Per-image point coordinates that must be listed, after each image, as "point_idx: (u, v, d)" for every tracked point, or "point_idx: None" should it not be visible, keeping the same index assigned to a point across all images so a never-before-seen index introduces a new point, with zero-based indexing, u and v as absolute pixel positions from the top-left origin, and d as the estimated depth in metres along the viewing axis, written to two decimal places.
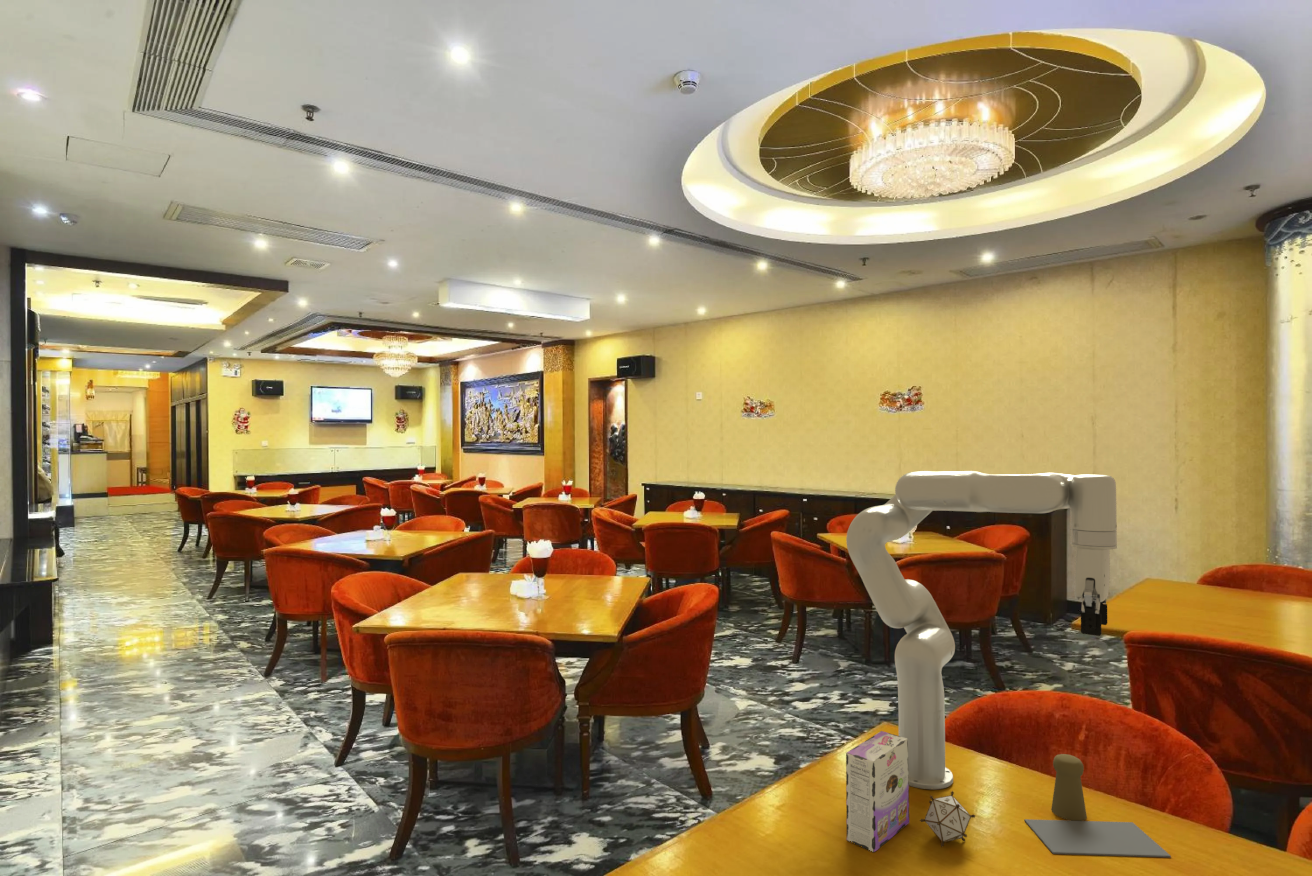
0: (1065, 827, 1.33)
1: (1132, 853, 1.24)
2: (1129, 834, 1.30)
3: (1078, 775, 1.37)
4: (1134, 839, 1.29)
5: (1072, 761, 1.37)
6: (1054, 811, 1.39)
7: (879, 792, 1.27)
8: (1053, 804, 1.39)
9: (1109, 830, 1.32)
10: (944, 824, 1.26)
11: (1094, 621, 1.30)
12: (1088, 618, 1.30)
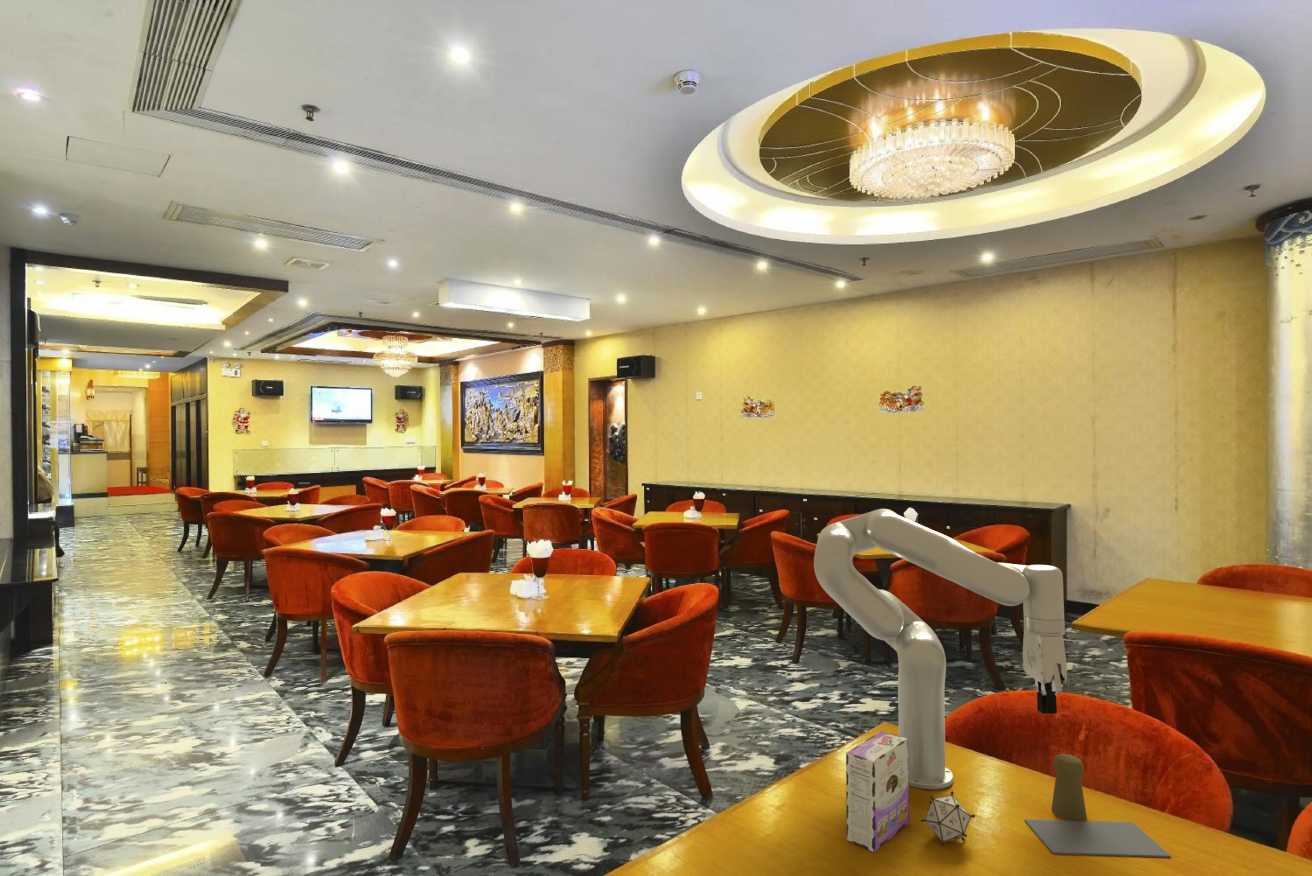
0: (1065, 827, 1.33)
1: (1132, 853, 1.24)
2: (1129, 834, 1.30)
3: (1078, 775, 1.37)
4: (1134, 839, 1.29)
5: (1072, 761, 1.37)
6: (1054, 811, 1.39)
7: (879, 792, 1.27)
8: (1053, 804, 1.39)
9: (1109, 830, 1.32)
10: (943, 824, 1.26)
11: (1053, 701, 1.47)
12: (1048, 699, 1.47)
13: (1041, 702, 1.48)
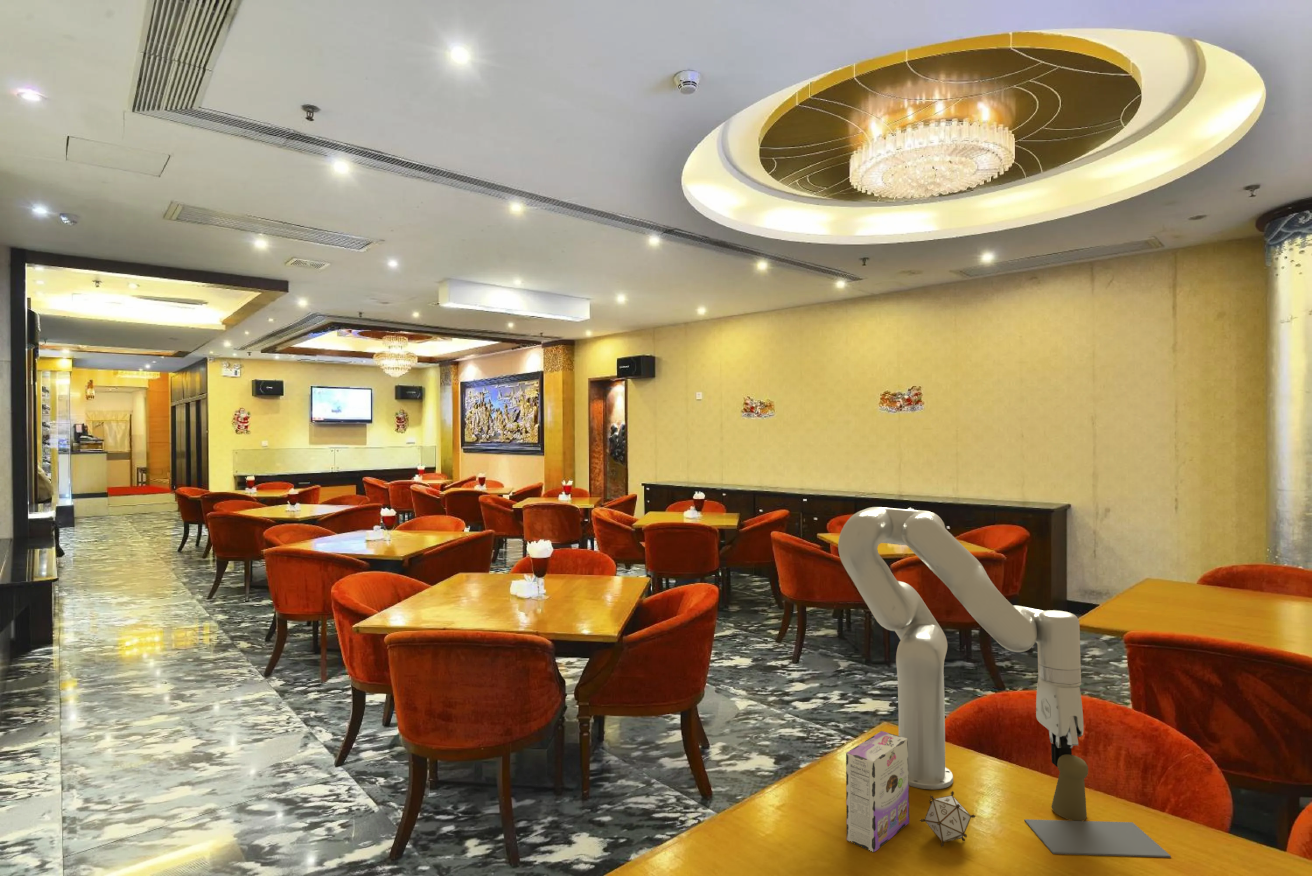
0: (1065, 827, 1.33)
1: (1132, 853, 1.24)
2: (1129, 834, 1.30)
3: (1082, 778, 1.35)
4: (1134, 839, 1.29)
5: (1077, 763, 1.36)
6: (1054, 809, 1.39)
7: (879, 792, 1.27)
8: (1054, 802, 1.39)
9: (1109, 830, 1.32)
10: (944, 824, 1.26)
11: None
12: (1063, 752, 1.41)
13: (1056, 755, 1.42)
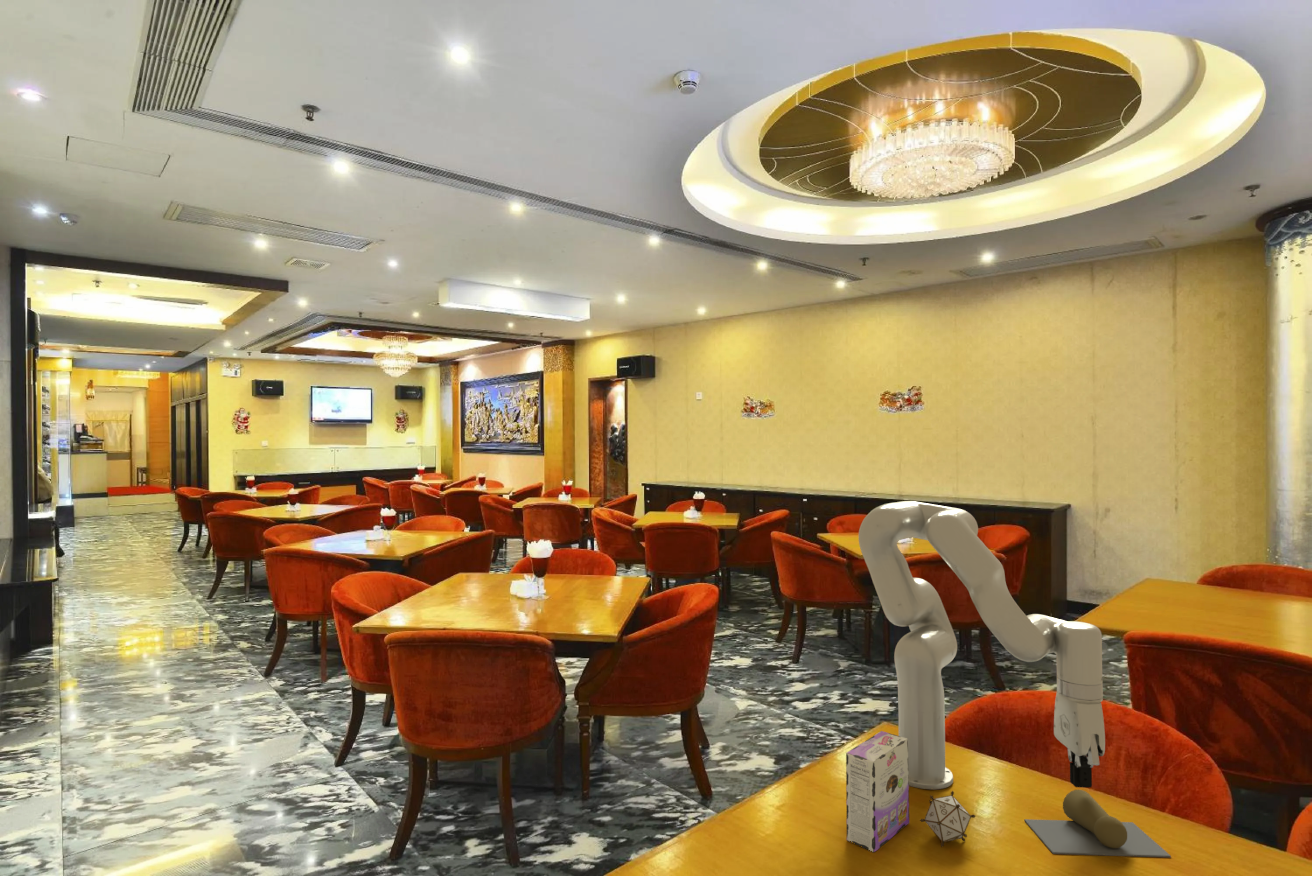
0: (1065, 827, 1.33)
1: (1132, 853, 1.24)
2: (1129, 834, 1.30)
3: None
4: (1134, 839, 1.29)
5: (1116, 845, 1.25)
6: (1064, 807, 1.35)
7: (879, 792, 1.27)
8: (1068, 806, 1.34)
9: None
10: (944, 824, 1.26)
11: (1088, 774, 1.33)
12: (1083, 772, 1.33)
13: (1075, 774, 1.34)
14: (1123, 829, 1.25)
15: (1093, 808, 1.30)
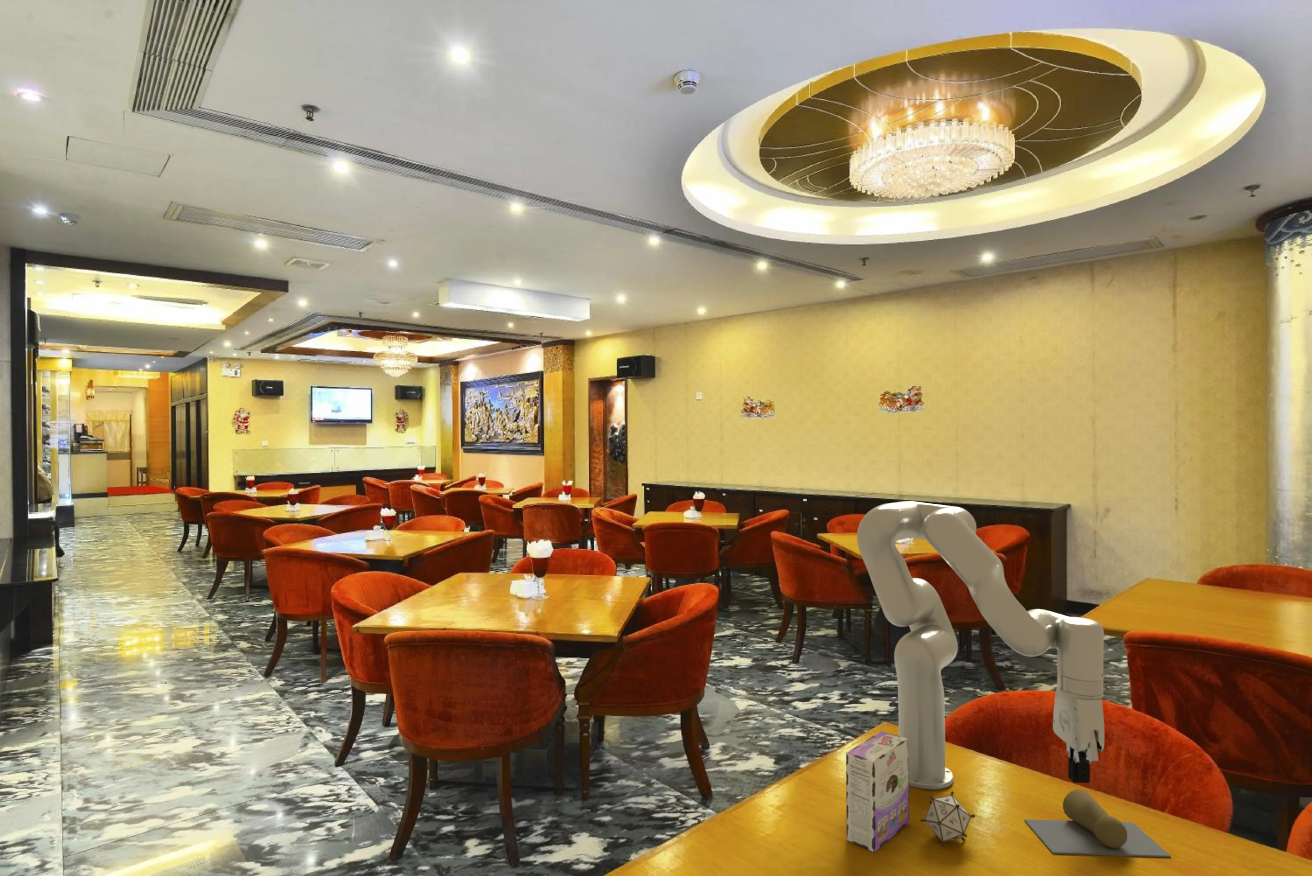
0: (1065, 827, 1.33)
1: (1132, 853, 1.24)
2: (1129, 834, 1.30)
3: None
4: (1134, 839, 1.29)
5: (1116, 845, 1.25)
6: (1064, 807, 1.35)
7: (879, 792, 1.27)
8: (1068, 806, 1.34)
9: None
10: (944, 824, 1.26)
11: (1087, 770, 1.33)
12: (1081, 768, 1.33)
13: (1073, 770, 1.34)
14: (1123, 829, 1.25)
15: (1093, 808, 1.30)
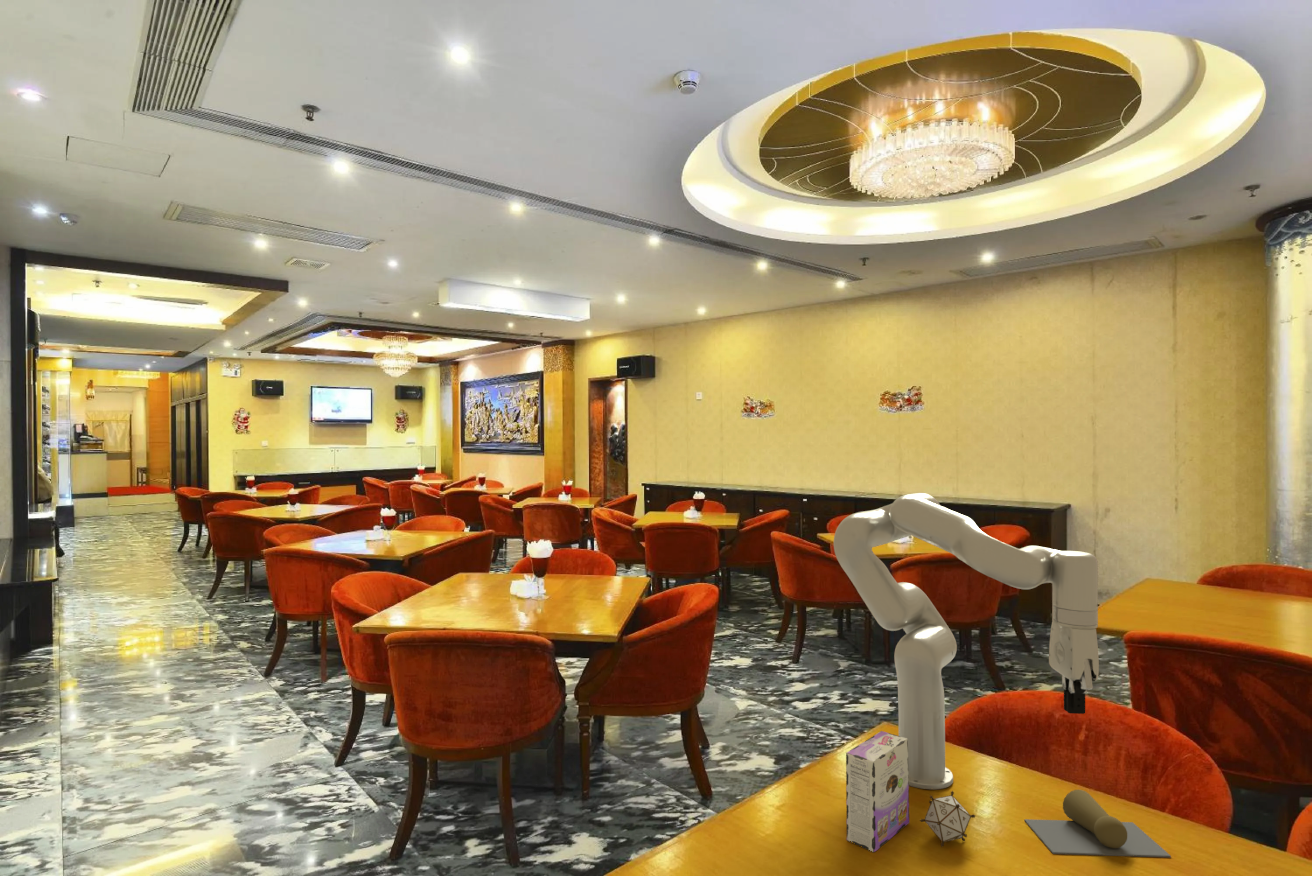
0: (1065, 827, 1.33)
1: (1132, 853, 1.24)
2: (1129, 834, 1.30)
3: None
4: (1134, 839, 1.29)
5: (1116, 845, 1.25)
6: (1064, 807, 1.35)
7: (879, 792, 1.27)
8: (1068, 806, 1.34)
9: None
10: (943, 824, 1.26)
11: (1082, 700, 1.34)
12: (1076, 698, 1.34)
13: (1068, 701, 1.35)
14: (1123, 829, 1.25)
15: (1093, 808, 1.30)
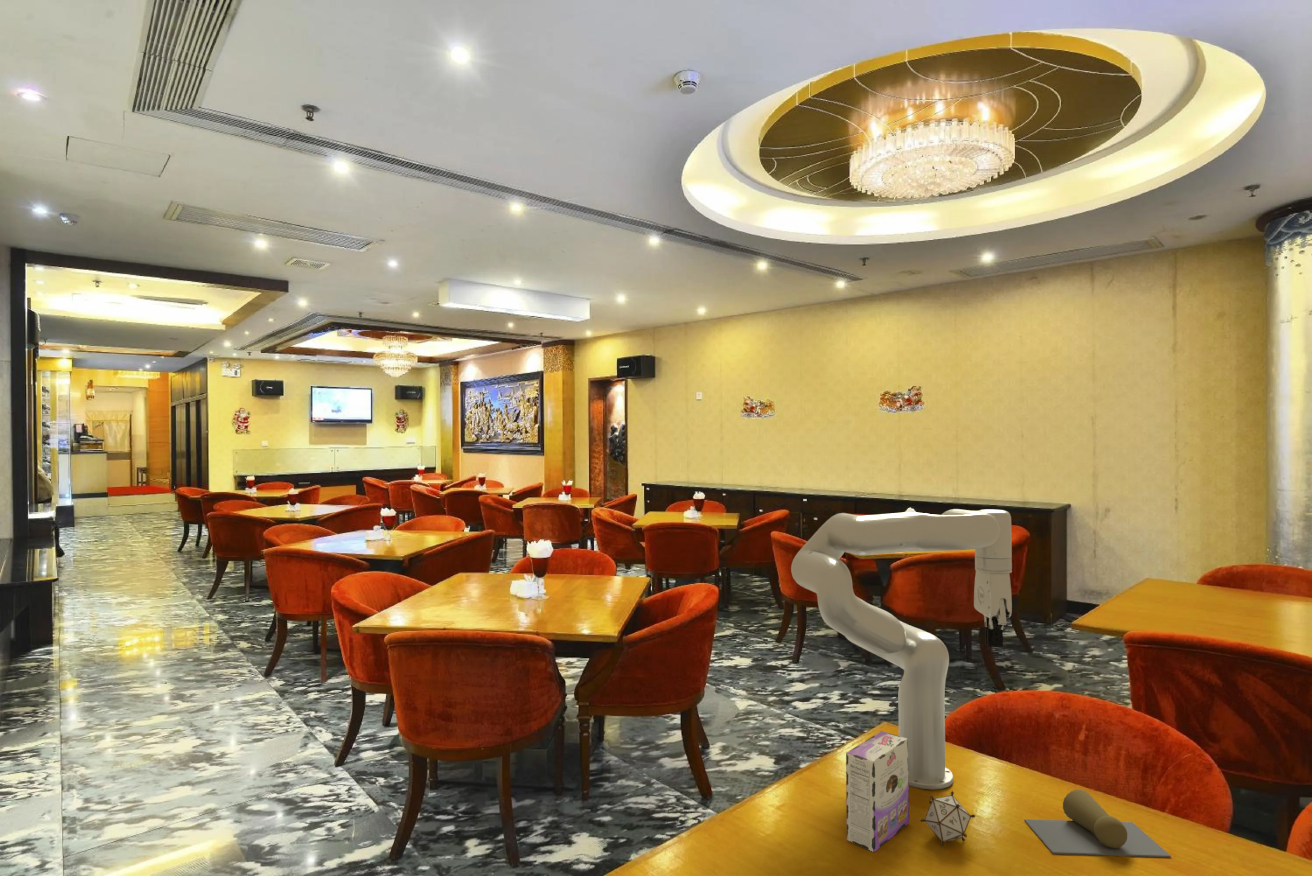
0: (1065, 827, 1.33)
1: (1132, 853, 1.24)
2: (1129, 834, 1.30)
3: None
4: (1134, 839, 1.29)
5: (1116, 845, 1.25)
6: (1064, 807, 1.35)
7: (879, 792, 1.27)
8: (1068, 806, 1.34)
9: None
10: (943, 824, 1.26)
11: (1000, 635, 1.58)
12: (995, 633, 1.58)
13: (988, 636, 1.59)
14: (1123, 829, 1.25)
15: (1093, 808, 1.30)
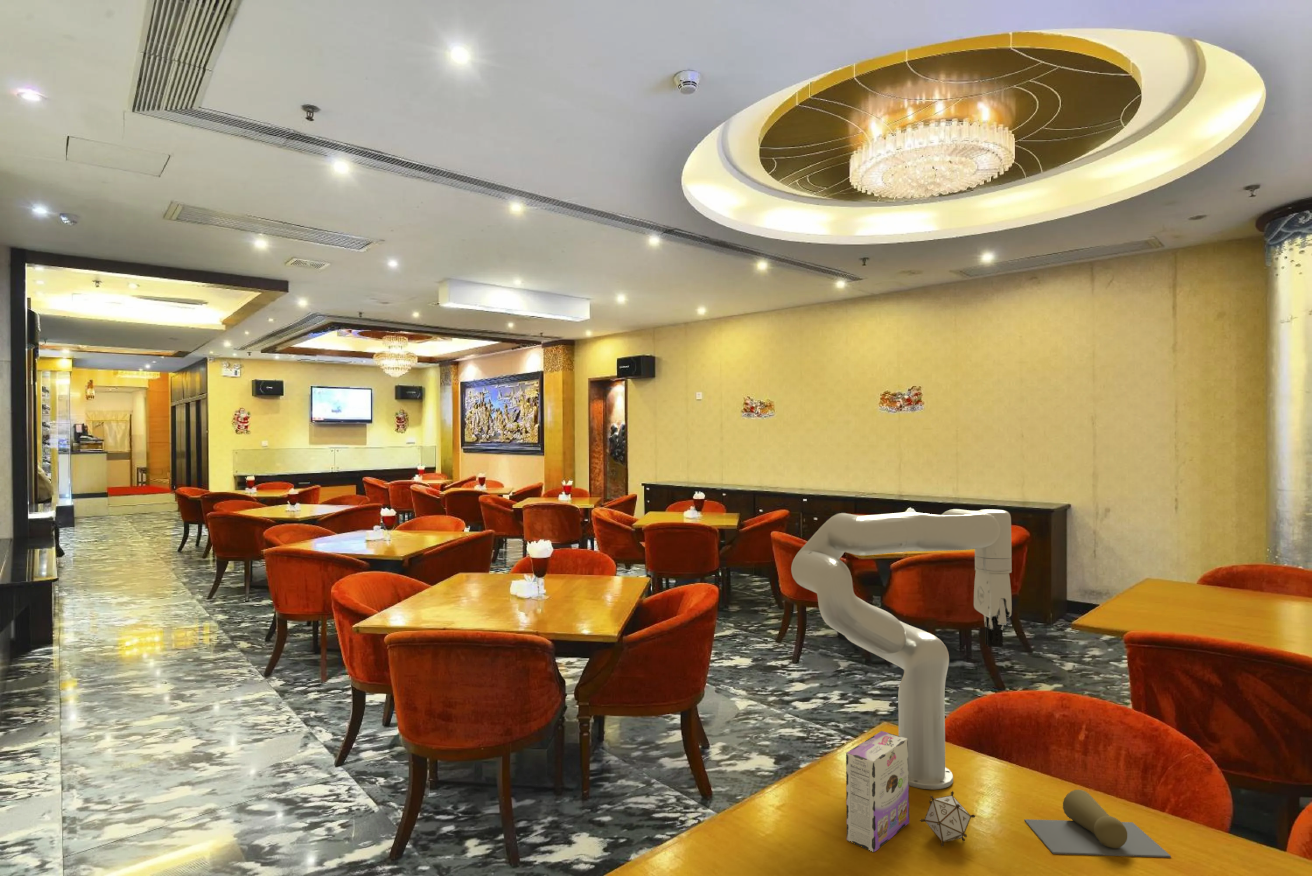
0: (1065, 827, 1.33)
1: (1132, 853, 1.24)
2: (1129, 834, 1.30)
3: None
4: (1134, 839, 1.29)
5: (1116, 845, 1.25)
6: (1064, 807, 1.35)
7: (879, 792, 1.27)
8: (1068, 806, 1.34)
9: None
10: (944, 824, 1.26)
11: (999, 635, 1.58)
12: (995, 633, 1.58)
13: (988, 636, 1.59)
14: (1123, 829, 1.25)
15: (1093, 808, 1.30)
